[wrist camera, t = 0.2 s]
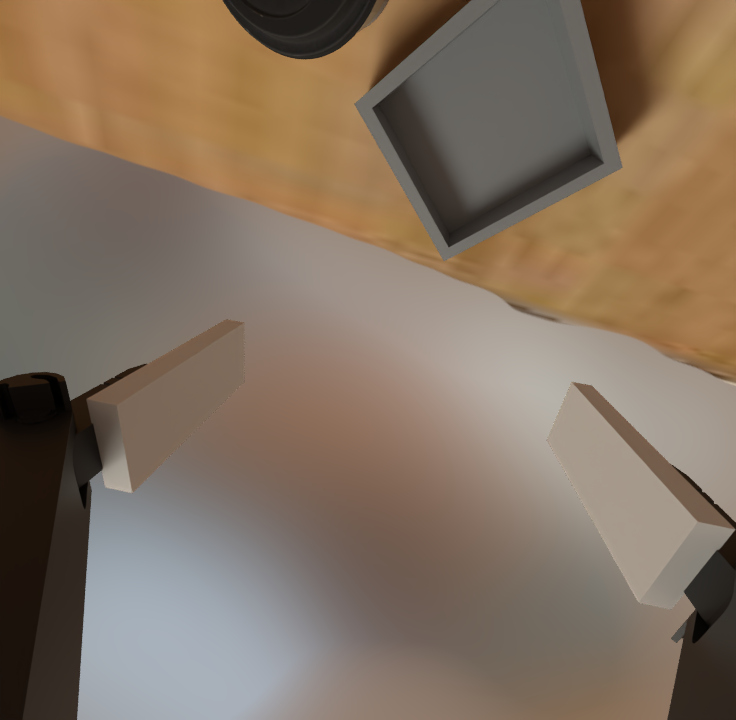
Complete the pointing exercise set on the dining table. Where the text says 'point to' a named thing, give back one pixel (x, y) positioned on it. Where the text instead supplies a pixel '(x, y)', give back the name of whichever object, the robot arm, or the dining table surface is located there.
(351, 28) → the coffee cup
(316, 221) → the dining table surface
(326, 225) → the dining table surface
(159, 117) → the dining table surface
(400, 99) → the tray
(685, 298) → the dining table surface
